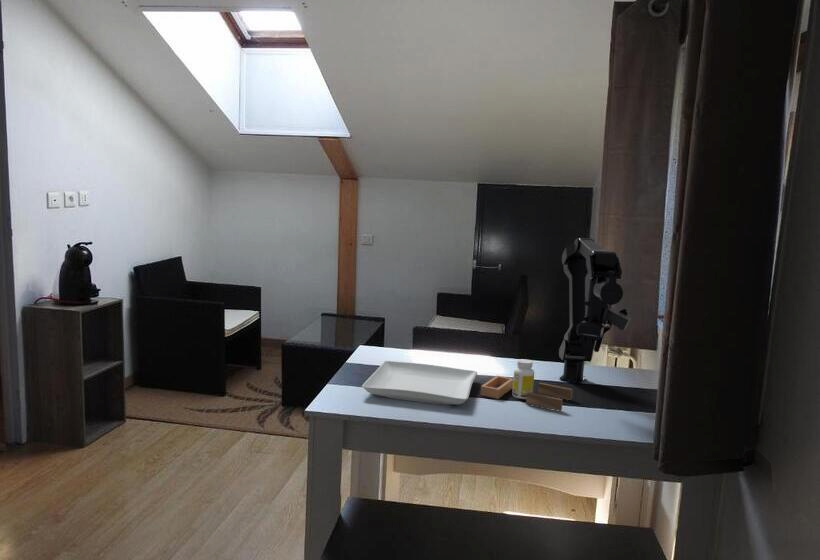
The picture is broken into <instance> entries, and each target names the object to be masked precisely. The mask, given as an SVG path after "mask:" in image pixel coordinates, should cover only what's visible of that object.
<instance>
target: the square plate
mask: <svg viewBox="0 0 820 560" xmlns="http://www.w3.org/2000/svg"><path fill="white" fill-rule="evenodd" d="M477 375H478V372H477V371H476V370H469V369H463V368H456V367H448V366H443V365H442V366H441V365H434V364H425V363H416V362H405V361H393V360H392V361H391V360H385V361H383V362H382V364H381V365H380V366H379V367H378V368H377V369H376V370H375V371H374V372H373V373H372V374H371V375H370V376H369V377H368V378H367V379H366V381H365V382H364V383H363V384H362V385H361V388H362V389H364V390H365V392H367V393H370V394H372V395H375V396H383V397H384V396H385V397H384V398H388V399H395V400H403V401H405V400H406V401H411V402H412V401H413V402H419V403H420V402H421V403H426V404H428V403H429V404H435V405H436V404H437V405H456V406H457V405H461V404H464V403H465V402H466V401H467V400H468V399H469V396H470V393H471V389H472V386H473V383H474V381H475V379H476V378H477Z"/></svg>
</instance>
